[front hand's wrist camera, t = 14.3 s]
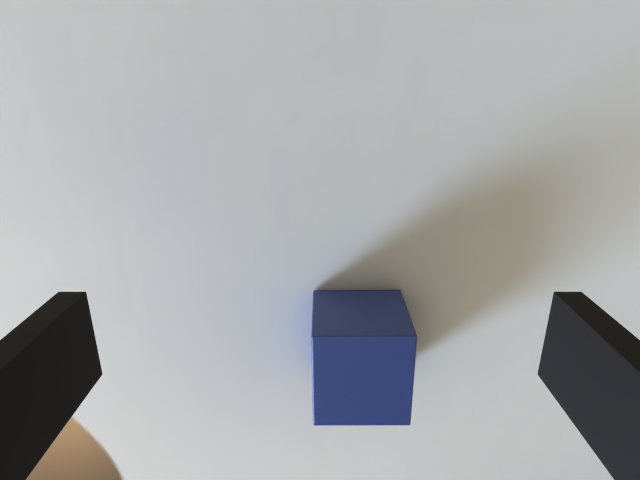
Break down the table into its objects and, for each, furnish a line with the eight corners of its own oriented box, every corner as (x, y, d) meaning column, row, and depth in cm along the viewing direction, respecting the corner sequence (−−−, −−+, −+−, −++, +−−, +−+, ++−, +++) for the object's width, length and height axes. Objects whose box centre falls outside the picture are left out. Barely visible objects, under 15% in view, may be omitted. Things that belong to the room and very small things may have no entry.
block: (313, 290, 22) (311, 336, 18) (401, 289, 22) (417, 336, 18) (314, 368, 24) (313, 426, 20) (396, 367, 24) (410, 425, 20)
